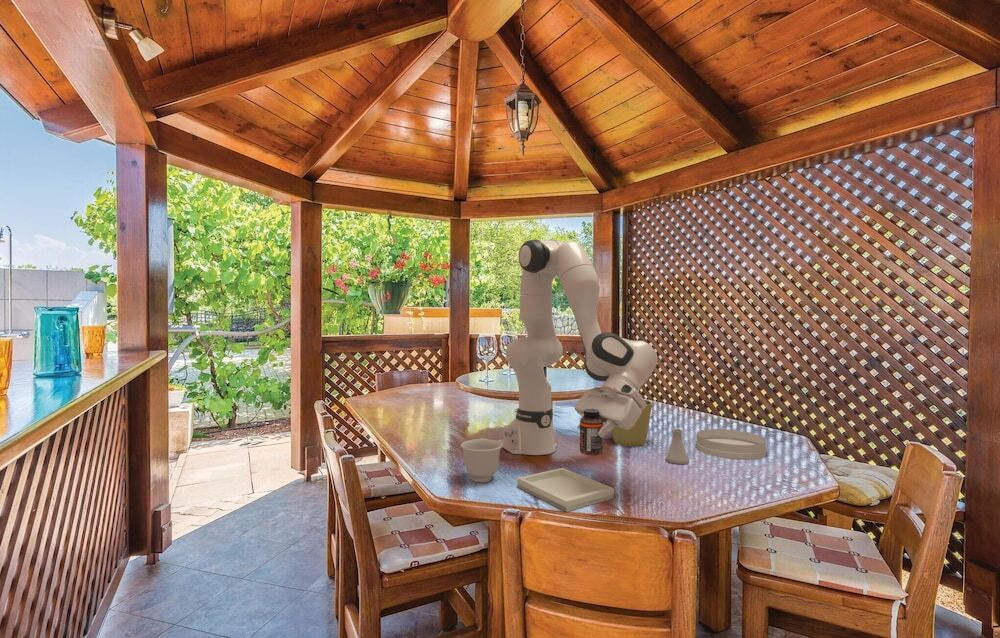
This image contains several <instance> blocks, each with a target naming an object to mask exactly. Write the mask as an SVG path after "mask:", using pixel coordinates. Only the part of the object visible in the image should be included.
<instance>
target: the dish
mask: <svg viewBox="0 0 1000 638" xmlns="http://www.w3.org/2000/svg"><path fill="white" fill-rule="evenodd" d="M695 448H696V450H697V449H698V450H697V451H699V452H701V453H702V454H705V453H706V454H705V455H708V456H712V457H715V458H723V459H728V460H729V459H730V460H737V461H738V460H741V461H742V460H743V461H749V460H750V461H751V460H754V461H755V460H760V459H763V458H766V457H767V449H768V448H767V439H766V438H765V437H763V436H761V435H759V434H756V433H753V432H747V431H742V430H738V429H737V430H736V429H725V428H719V429H718V428H709V429H703V430H699V431H697V433H696V440H695Z"/></svg>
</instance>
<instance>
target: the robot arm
mask: <svg viewBox="0 0 1000 638" xmlns="http://www.w3.org/2000/svg"><path fill="white" fill-rule="evenodd" d="M518 262H519V265H520V267H521V269H522V272H521V278H520V285H519V319H520V321H521V322H522V323H523V325H524V327H525V330H526V335H527V336H521V337H518V338H516V339H514V340H512V341H511V342H509V344H508V345H507V346H506V349H505V359H506V362H507V363H508V364H509V366H510V367H511V368H512V369H513V371H514V374H515V377H516V381H517V386H518V408H514V409H513V410H515V411H514V413H515V418H514V419H513V420H512V421H511V422H510V423H509V424H507V425H506V426H505V427H504V430H503V438H499V439H498V440H497V441H499V442H501V443H502V444H503V446H502V447H501V448H503V449H505V450H506V451H508V452H509V453H511V454H512V455H526V456H527V455H529V456H544V455H550V454H552V453H555V452H556V450H557V447H558V444H557V442H556V440H555V439H556V437H555V428H554V423H553V422H552V420H553V417H554V415H553V413H554V412H553V408H552V386H551V384H550V383H549V382H548V379H547V377H546V376H545V370H544V368H545V367H550V366H553V365H554V364H556V363H557V362H559V361H560V360H561V358H562V356H563V354H564V347H563V344H562V342H561V341H560V340H559V339H558V336H557V334H556V330H555V326H554V321H553V281H554V279H555V278H556V276H558V279H559V282H560V285H561V287H562V290H563V292H564V295H565V298H566V299H567V302H568V304H569V307H570V309H571V311H572V314H573V316H574V319H575V322H576V327H577V329H578V332H579V335H580V338H581V342H582V346H583V349H584V361H583V363H584V364H583V365H584V369H585V373H586V374H587V375H588V376H589V377H590V378H591V379H593V380H596V381H598V382H603V384H602V386H601V387H595V386H594V388H591V389H589V390H588V389H587V391H586V392H585V393H584V394H583V395H581V396H580V398H579V399H578V401H576V402H575V404H574V410H575V411H576V412H577V414H578V415H579V416H580V419H581V418H583V416H584V410H585V409H597V410H599V418H601V419H602V421H603V427H602V428H598V430H597V431H596V434H597V436H599V437H601V438H603V439H604V437H605V436H606V435H607V434H608V433H609V432H611V431H612V430H613V429H614V427H615V426H617V427H620V428H623V429H626V430H628V429H630V428H632V427H633V426H634V425H635V423H636V422H637V420H638V419H639V417H640V415H641V413H642V410H643V409H645V407H646V406H647V404H646V402H645V401H644V400H645V399H644V398H643V396H642V395H641V393H640V390H641V388H642V386H643V385H644V384H645V383H646V382H647V381H648V380H649V378H650V377H651V375H652V373H653V372H654V370H655V368H656V367H657V363H658V353H657V351H656V350H655V348H654V347H653V346H652V345H651V344H650V343H648V342H646V341H644V340H631V339H627V338H623V337H621V336H619V335H618V334H616V333H614V332H611V331H610V332H608V331H605V332H602V330H601V327H600V325H599V321H598V313H597V312H598V302H599V297H600V290H601V288H600V282H599V276H598V274H597V271H596V269H595V266H594V263H593V261H592V259H591V258H590V256H589V254H588V253H587V251H586V249H585V248H584V247H583V246H582V244H581V243H579V242H577V241H571V240H570V241H561V240H556V239H547V240H546V239H545V240H544V239H540V240H539V239H529V240H526V241H525V242H523V243H522V245H521V246H520V249H519V251H518ZM577 428H578V430H579V431H580V422H579V423H578V425H577Z"/></svg>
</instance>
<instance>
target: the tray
mask: <svg viewBox="0 0 1000 638" xmlns="http://www.w3.org/2000/svg"><path fill="white" fill-rule="evenodd" d="M517 488H518V489H520V490H523V491H524V492H526V493H529V494H530V495H532V496H534V497H536V498H539V499H540V500H542V501H544V502H546V503H548V504H550V505H552V506H554V507H556V508H558V509H559V510H561V511H564V512H566V513H568V512H571V511H575V510H577V509H581V508H585V507H588V506H591V505H592V506H593V505H594V504H599V503H601V502H606V501H609V500H612V499H615V488H614V487H612V486H609V485H606V484H604V483H601V482H599V481H596V480H594V479H592V478H589V477H586V476H585V475H582V474H580V473H576V472H574V471H571V470H570V469H567V468H564V467H559V468H555V469H552V470H546V471H543V472H538V473H533V474H529V475H524V476H520V477H517Z"/></svg>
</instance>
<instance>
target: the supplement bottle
mask: <svg viewBox="0 0 1000 638" xmlns="http://www.w3.org/2000/svg"><path fill="white" fill-rule="evenodd" d="M579 423H580V430H579V452H580V453H581V454H582V455H584V456H599V455H601V454H603V447H604V446H603V443H604V442H603V441H604V437H603V438H601V437H599V436H597V434H596V431H597V430H598V428H602V427H603V426H604V423H603V421H602V419H601V418H599V410H597V409H585V410H584V416H583V418H581V417H580V419H579Z"/></svg>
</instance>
